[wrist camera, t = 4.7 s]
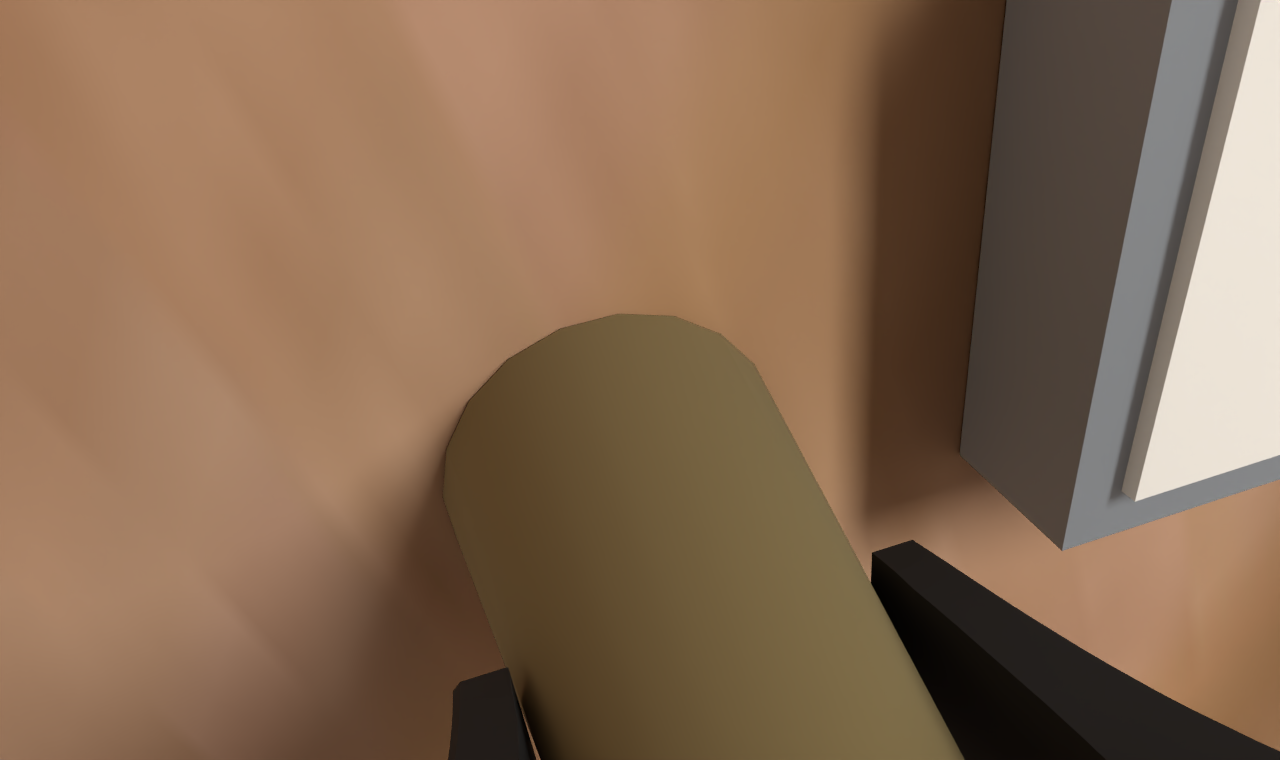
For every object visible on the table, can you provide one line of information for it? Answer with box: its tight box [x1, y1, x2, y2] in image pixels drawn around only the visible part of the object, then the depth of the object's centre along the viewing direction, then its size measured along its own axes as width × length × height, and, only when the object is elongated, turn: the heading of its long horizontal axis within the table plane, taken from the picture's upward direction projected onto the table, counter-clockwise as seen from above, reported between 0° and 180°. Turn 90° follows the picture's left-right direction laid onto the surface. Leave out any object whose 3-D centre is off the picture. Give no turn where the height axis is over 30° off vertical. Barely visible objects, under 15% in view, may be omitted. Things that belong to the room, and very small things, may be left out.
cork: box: [443, 314, 965, 760], centre depth 10 cm, size 6×6×11 cm
